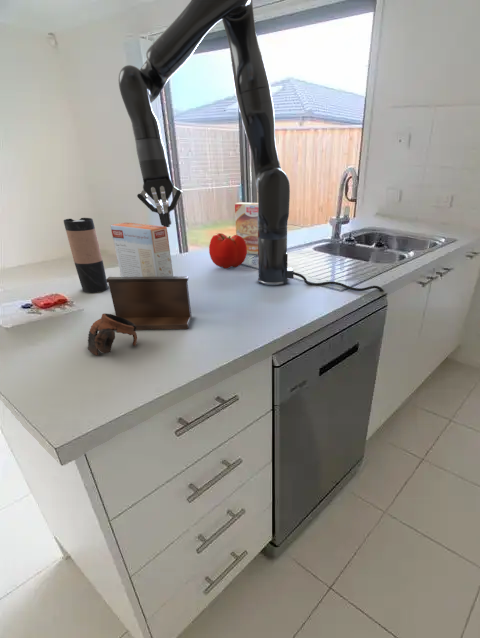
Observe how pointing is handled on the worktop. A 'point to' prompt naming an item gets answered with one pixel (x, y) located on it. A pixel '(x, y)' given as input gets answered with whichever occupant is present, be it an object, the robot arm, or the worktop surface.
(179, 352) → the worktop surface
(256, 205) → the coffeecake box
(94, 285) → the travel mug
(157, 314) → the walnut backstop
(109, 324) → the brown arched piece
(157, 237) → the cracker box
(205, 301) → the worktop surface
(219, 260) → the tomato
